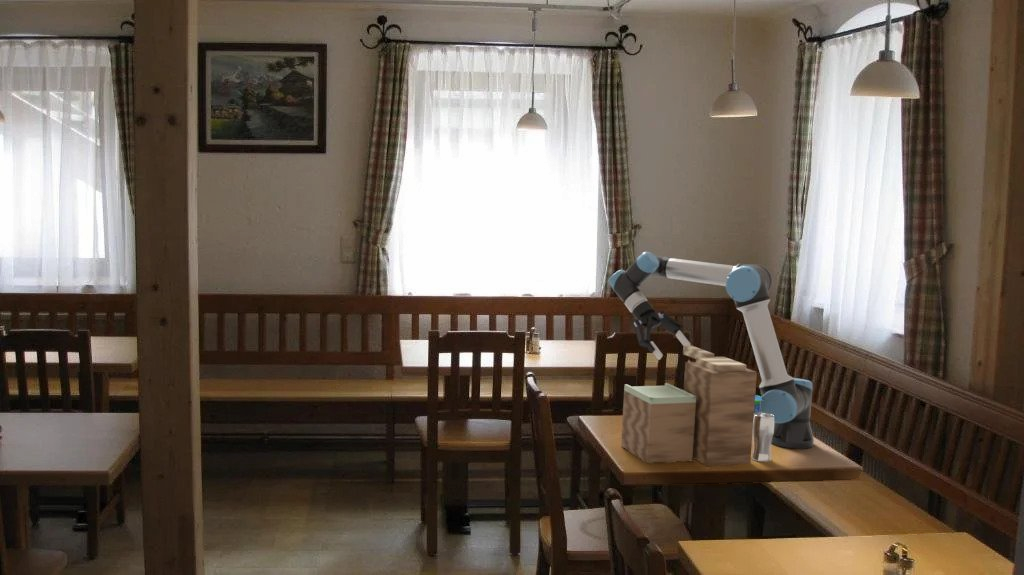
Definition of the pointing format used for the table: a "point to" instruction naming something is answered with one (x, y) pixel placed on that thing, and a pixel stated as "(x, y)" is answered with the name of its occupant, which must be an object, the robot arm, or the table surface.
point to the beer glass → (762, 436)
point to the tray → (660, 394)
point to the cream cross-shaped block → (713, 360)
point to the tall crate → (722, 414)
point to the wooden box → (658, 429)
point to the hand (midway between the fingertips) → (674, 352)
